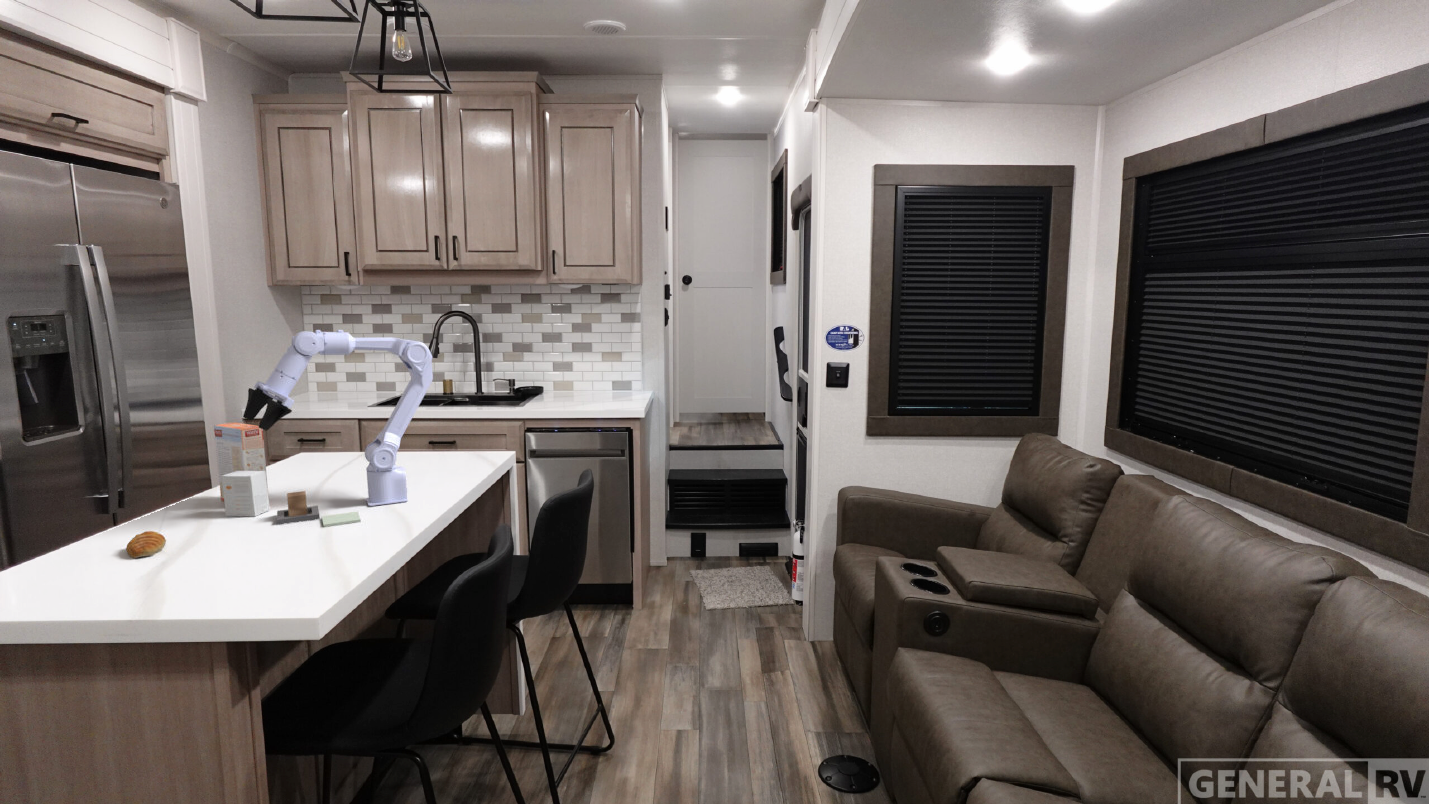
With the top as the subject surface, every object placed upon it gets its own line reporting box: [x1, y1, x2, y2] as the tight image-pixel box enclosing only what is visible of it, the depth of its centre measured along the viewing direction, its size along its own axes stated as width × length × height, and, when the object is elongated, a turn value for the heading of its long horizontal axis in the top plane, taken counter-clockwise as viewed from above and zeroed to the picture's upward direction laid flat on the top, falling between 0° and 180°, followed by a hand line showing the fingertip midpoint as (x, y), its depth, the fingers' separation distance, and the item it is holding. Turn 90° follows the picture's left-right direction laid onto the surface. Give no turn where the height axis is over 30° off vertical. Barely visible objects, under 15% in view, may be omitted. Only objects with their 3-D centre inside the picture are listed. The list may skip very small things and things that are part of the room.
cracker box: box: [213, 422, 269, 502], centre depth 198 cm, size 14×6×21 cm, turn 58°
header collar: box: [276, 505, 320, 525], centre depth 185 cm, size 9×9×1 cm
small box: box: [221, 471, 271, 517], centre depth 188 cm, size 8×6×10 cm
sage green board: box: [321, 511, 362, 528], centre depth 182 cm, size 8×8×1 cm
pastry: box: [125, 530, 167, 559], centre depth 160 cm, size 9×7×4 cm
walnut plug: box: [286, 490, 308, 517], centre depth 185 cm, size 4×4×6 cm
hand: (254, 423), depth 181 cm, fingers open, 7 cm apart
